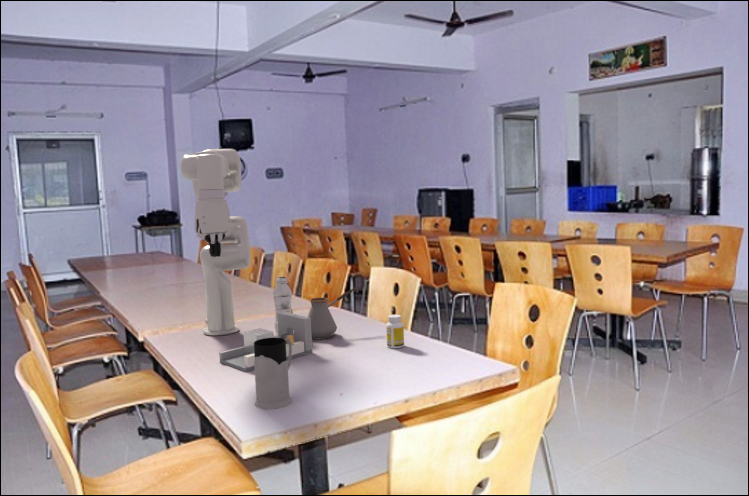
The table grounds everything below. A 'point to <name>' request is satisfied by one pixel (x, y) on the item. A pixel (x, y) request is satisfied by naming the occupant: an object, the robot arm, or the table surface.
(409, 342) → the table surface
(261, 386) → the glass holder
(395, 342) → the supplement bottle
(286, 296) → the plastic bottle
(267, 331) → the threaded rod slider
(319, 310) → the coffee pot
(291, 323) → the track
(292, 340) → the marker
